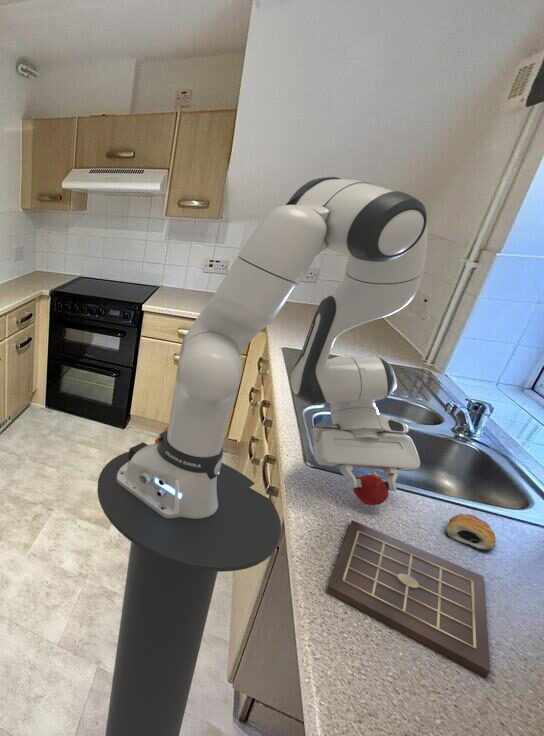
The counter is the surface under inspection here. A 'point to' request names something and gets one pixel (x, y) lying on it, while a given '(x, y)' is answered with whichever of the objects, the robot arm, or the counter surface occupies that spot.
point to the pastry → (471, 531)
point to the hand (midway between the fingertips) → (373, 489)
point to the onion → (371, 490)
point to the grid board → (415, 594)
